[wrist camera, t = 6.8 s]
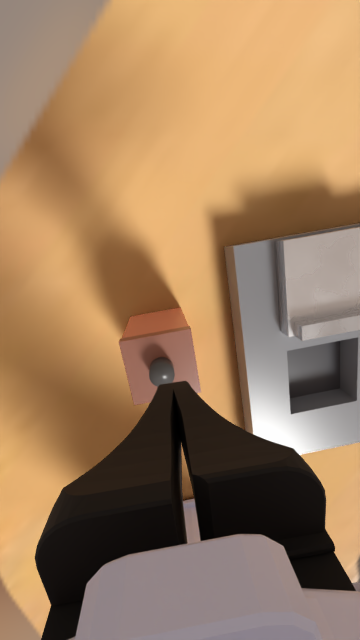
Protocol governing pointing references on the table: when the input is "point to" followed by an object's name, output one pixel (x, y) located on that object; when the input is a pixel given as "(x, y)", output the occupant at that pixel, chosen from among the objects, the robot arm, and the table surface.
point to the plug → (158, 353)
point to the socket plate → (289, 361)
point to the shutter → (319, 284)
